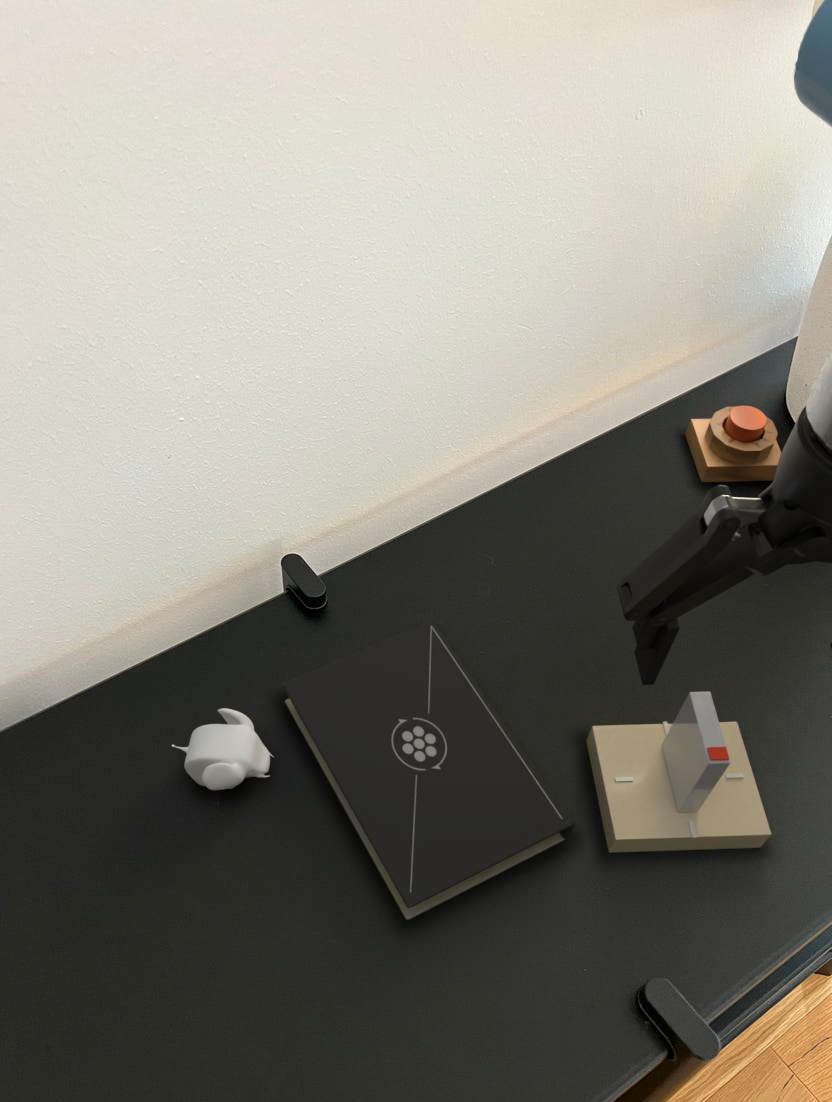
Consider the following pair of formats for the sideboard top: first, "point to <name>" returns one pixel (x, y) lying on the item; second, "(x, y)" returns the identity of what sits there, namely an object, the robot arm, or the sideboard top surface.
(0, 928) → the sideboard top surface
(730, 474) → the button block
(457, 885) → the book
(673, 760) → the grey rectangular block
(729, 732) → the panel
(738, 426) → the button
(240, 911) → the sideboard top surface
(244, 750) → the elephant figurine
